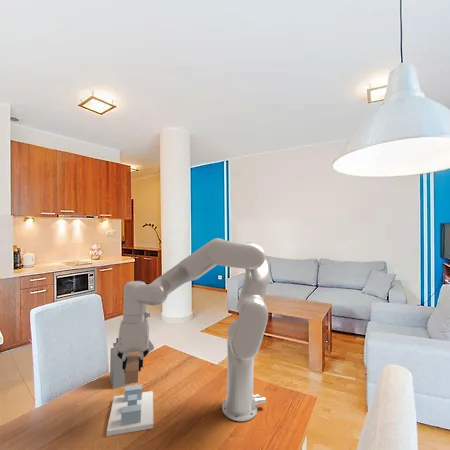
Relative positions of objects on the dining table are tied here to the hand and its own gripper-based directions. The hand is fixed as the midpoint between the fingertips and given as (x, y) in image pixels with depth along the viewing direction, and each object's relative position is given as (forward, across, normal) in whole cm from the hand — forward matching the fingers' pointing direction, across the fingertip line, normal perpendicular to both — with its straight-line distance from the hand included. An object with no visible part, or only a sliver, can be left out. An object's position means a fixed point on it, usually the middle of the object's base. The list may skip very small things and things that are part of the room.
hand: (132, 369), depth 95 cm
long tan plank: (0, 0, 0) cm, 0 cm away
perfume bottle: (+15, +6, -21) cm, 27 cm away
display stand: (+15, 0, 0) cm, 15 cm away
